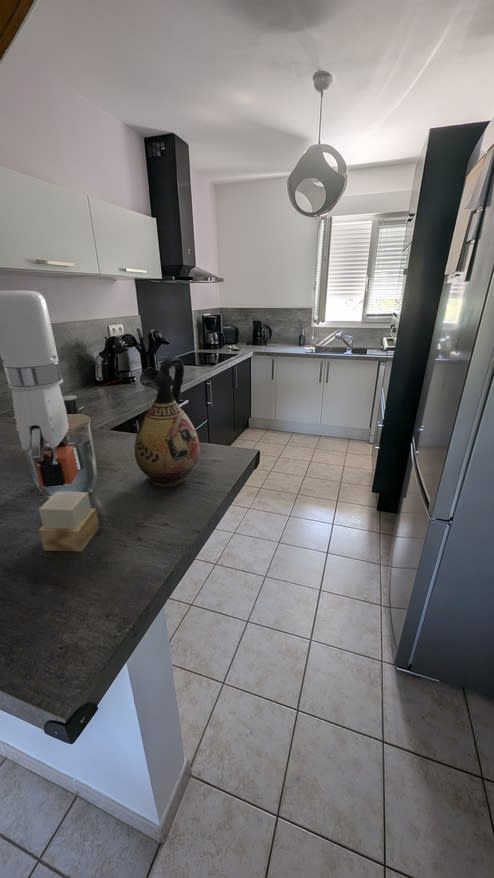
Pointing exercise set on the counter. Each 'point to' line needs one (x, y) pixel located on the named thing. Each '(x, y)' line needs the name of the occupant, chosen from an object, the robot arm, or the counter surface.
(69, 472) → the toy cube
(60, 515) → the middle block
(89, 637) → the counter surface
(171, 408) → the ceramic jug
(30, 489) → the counter surface
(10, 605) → the counter surface
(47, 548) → the base block
